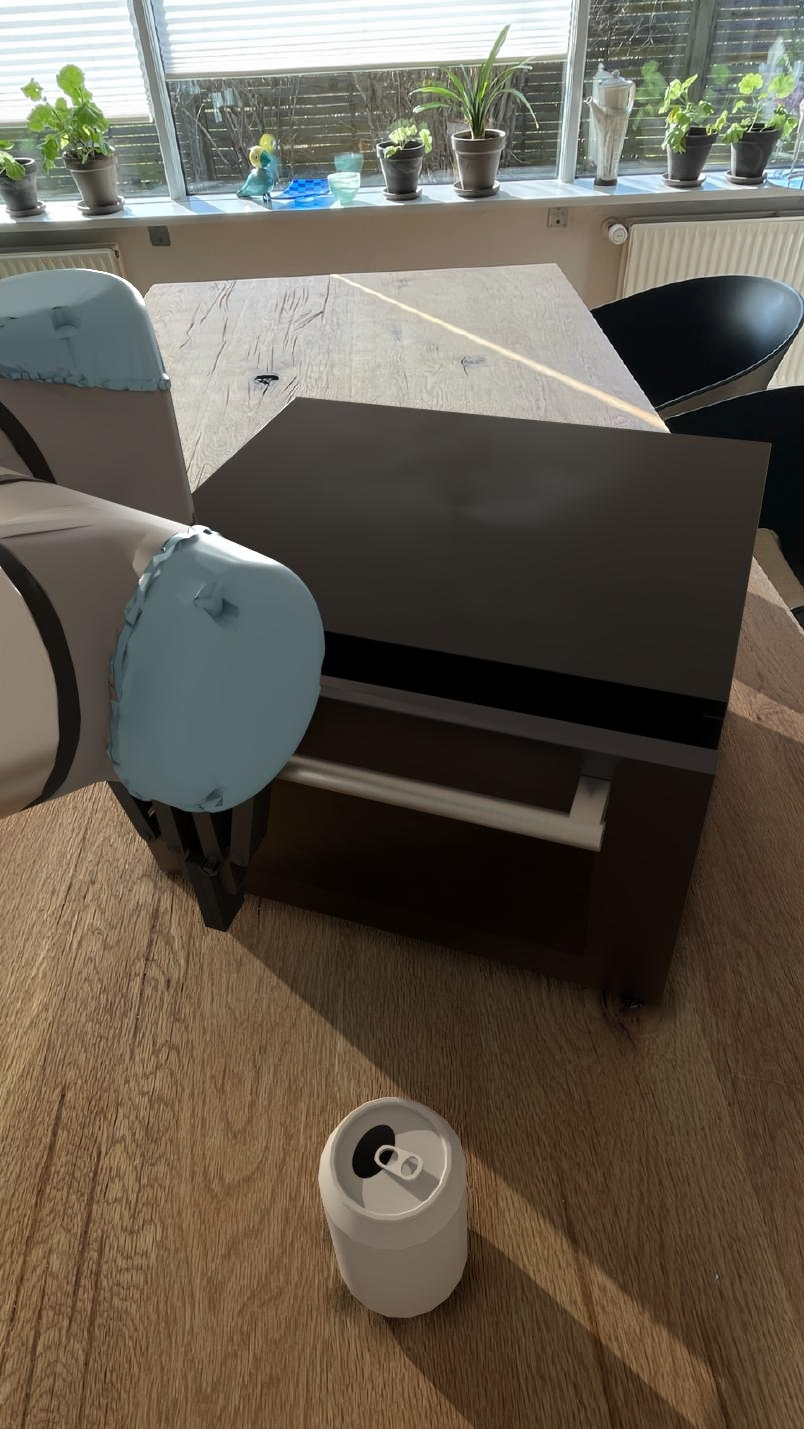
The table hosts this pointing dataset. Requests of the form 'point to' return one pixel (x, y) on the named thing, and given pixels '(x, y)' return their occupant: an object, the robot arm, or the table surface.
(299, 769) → the oven door
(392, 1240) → the can
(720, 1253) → the table surface
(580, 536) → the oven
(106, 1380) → the table surface
